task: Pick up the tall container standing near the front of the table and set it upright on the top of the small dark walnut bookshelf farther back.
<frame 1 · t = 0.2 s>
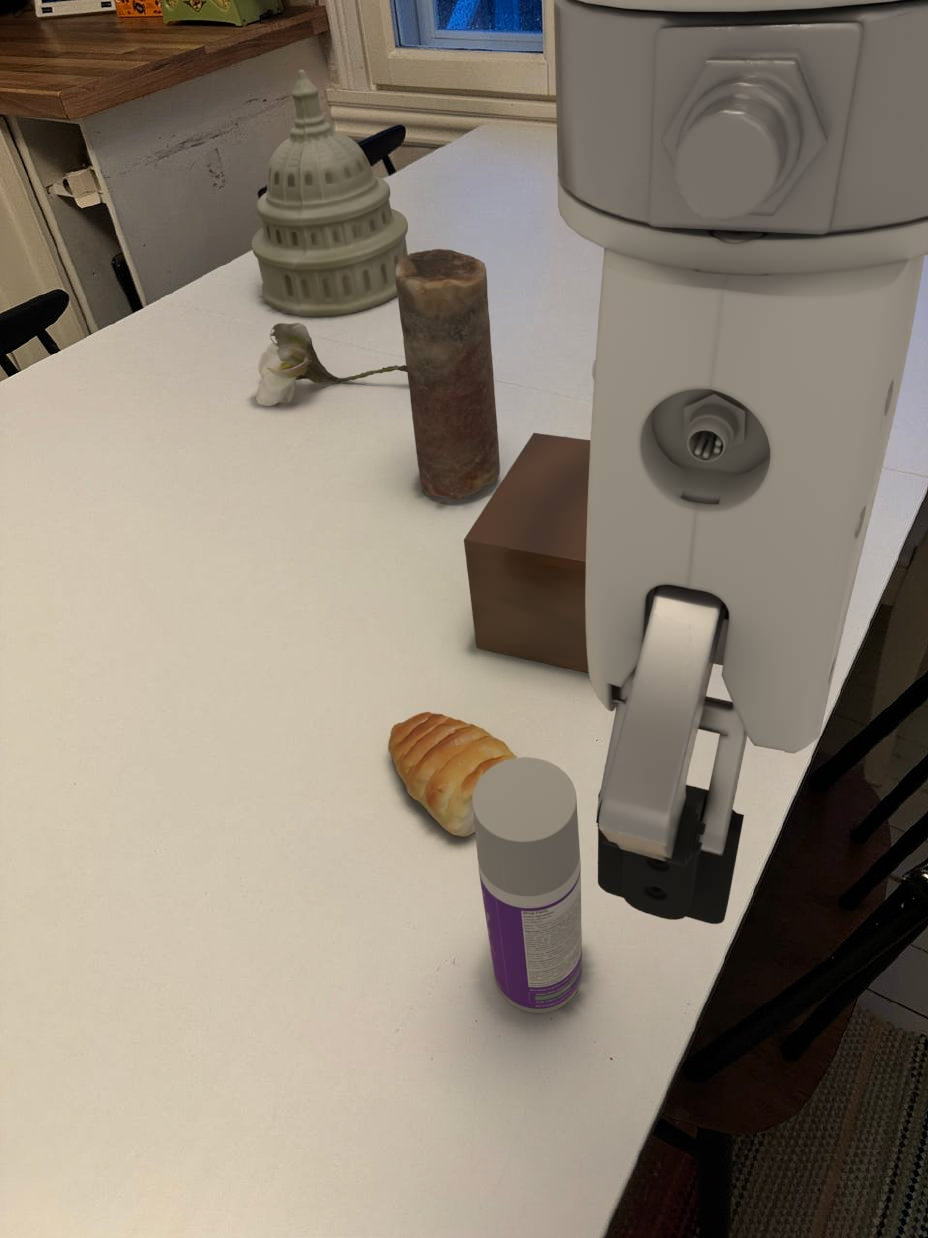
hand: (701, 757, 27), 25 cm above the table, tool pointing down, fingers open, 9 cm apart
pastry: (456, 786, 59), on the table
shelf: (576, 602, 71), on the table
brown rounded bar: (462, 483, 85), on the table
artificial flower: (355, 393, 100), on the table
dome: (339, 285, 122), on the table
container: (538, 972, 49), on the table
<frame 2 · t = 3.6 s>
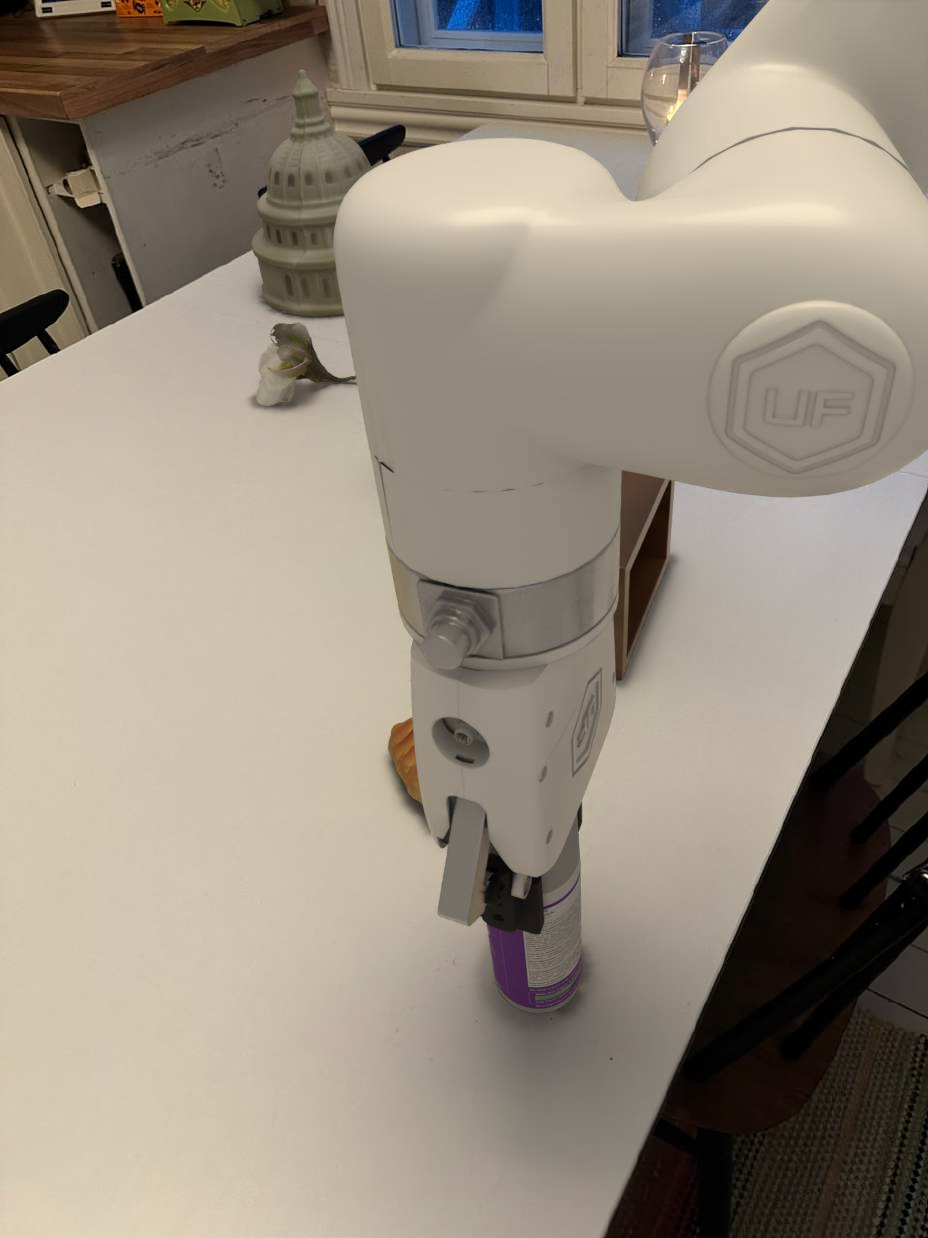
hand: (529, 866, 43), 10 cm above the table, tool pointing down, fingers closed on container, 4 cm apart
container: (537, 972, 49), on the table, touching gripper
everything else where it was.
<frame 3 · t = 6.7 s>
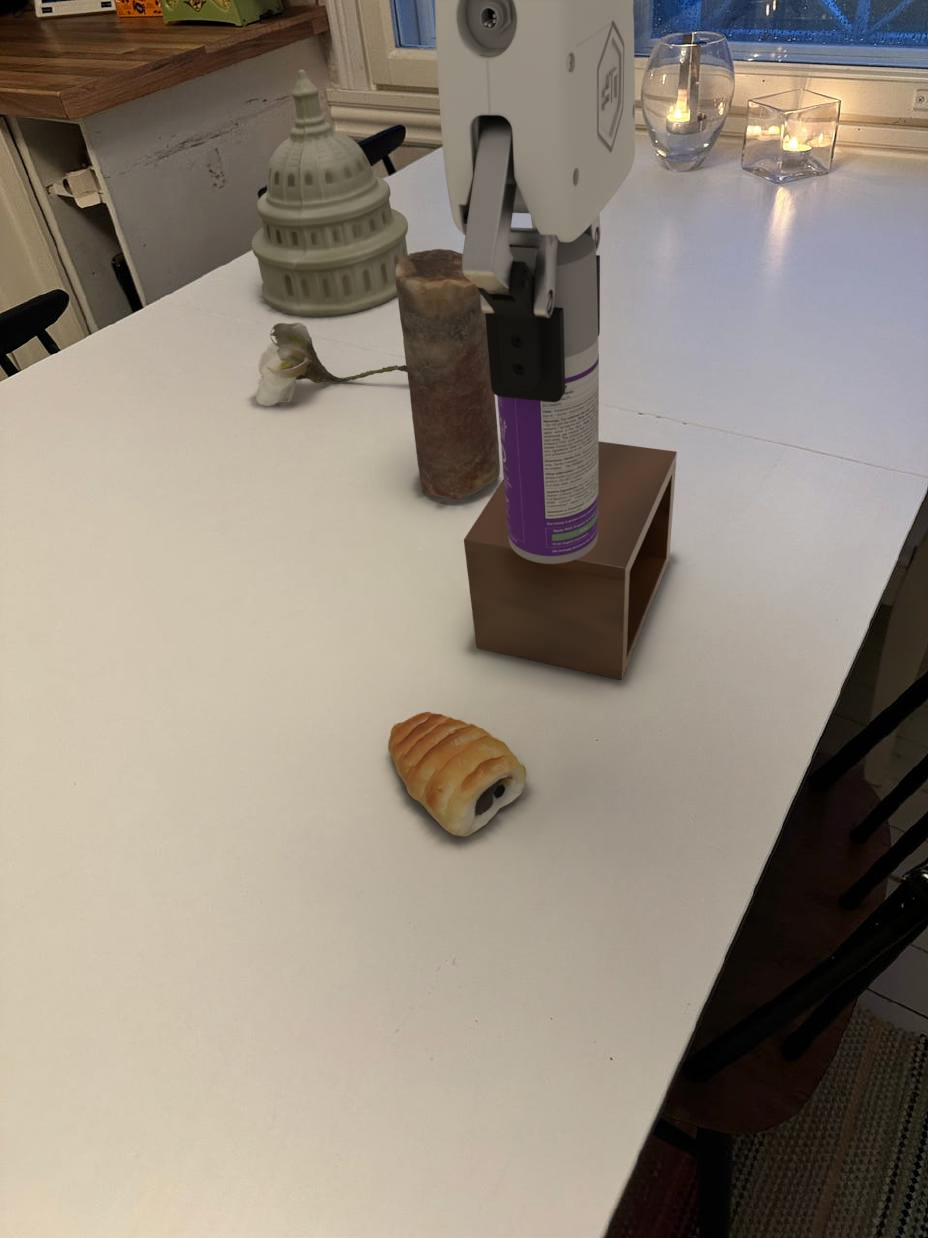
hand: (547, 362, 42), 27 cm above the table, tool pointing down, fingers closed on container, 4 cm apart
container: (553, 539, 48), point 17 cm above the table, touching gripper
everything else where it was.
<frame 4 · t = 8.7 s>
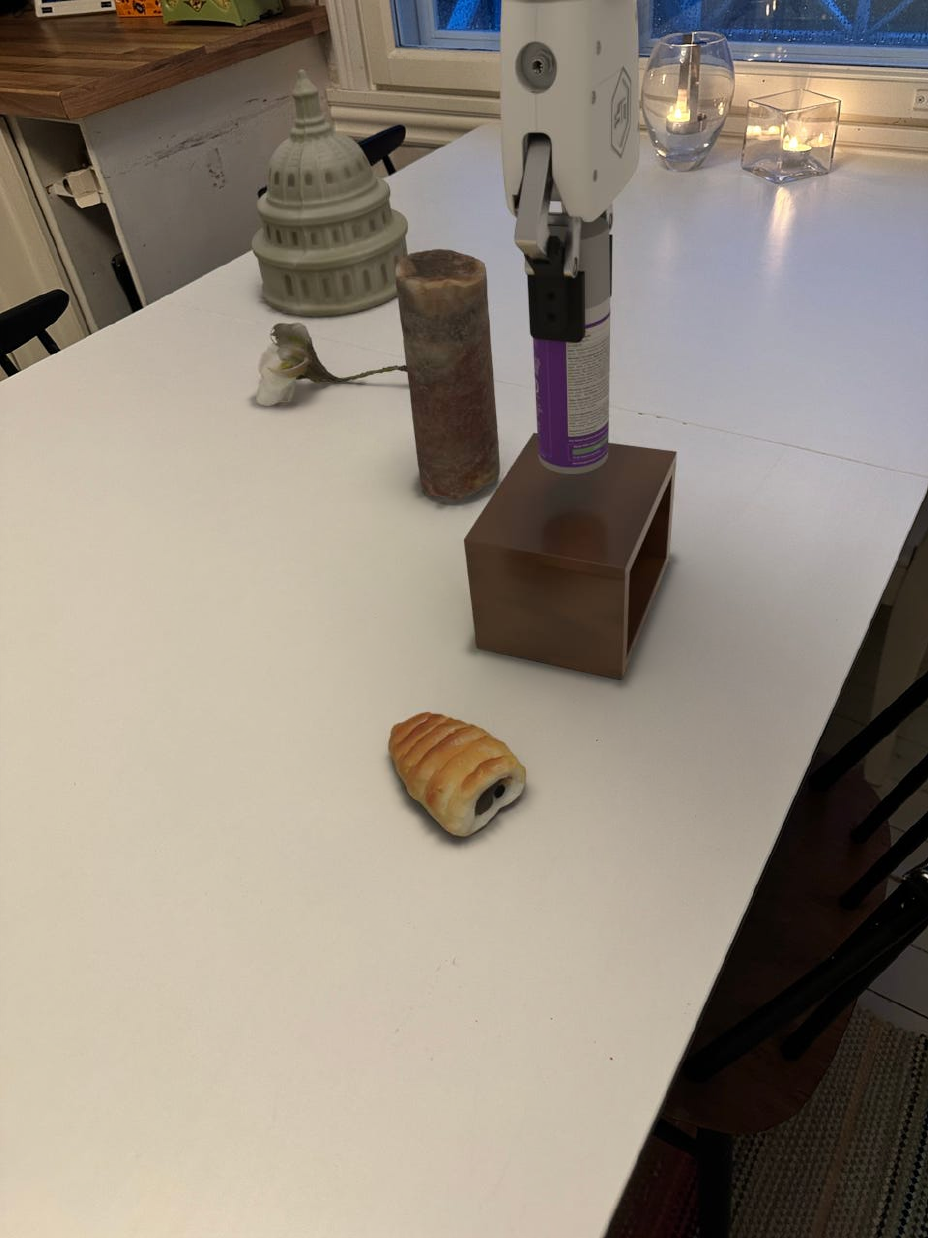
hand: (571, 315, 56), 23 cm above the table, tool pointing down, fingers closed on container, 4 cm apart
container: (573, 457, 62), point 13 cm above the table, touching gripper
everything else where it was.
when the fingers open (20 cm above the table, at t = 9.9 s): container stays where it is, resting on shelf.
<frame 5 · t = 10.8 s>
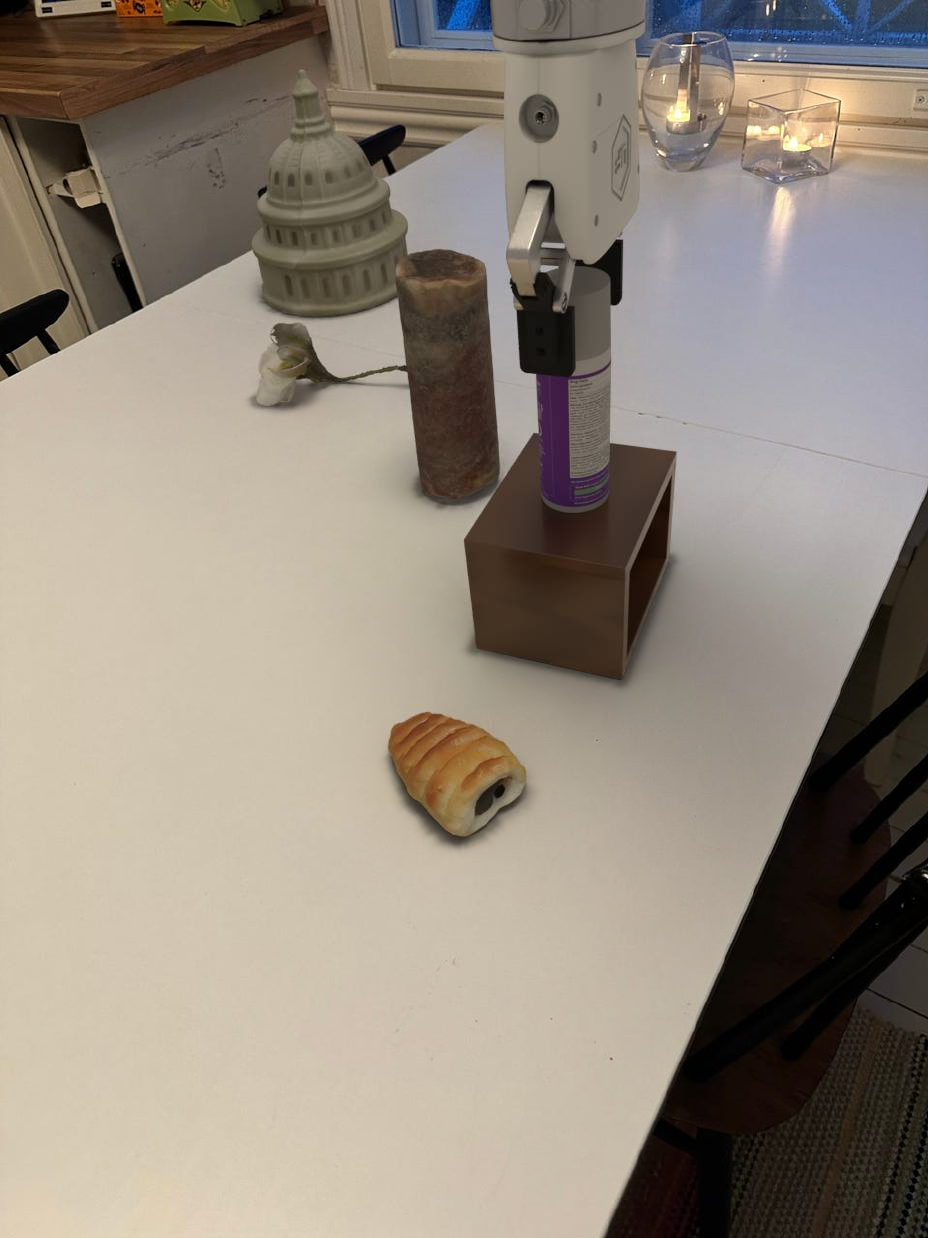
hand: (573, 335, 56), 22 cm above the table, tool pointing down, fingers open, 9 cm apart
container: (574, 496, 64), point 10 cm above the table, touching shelf
everything else where it was.
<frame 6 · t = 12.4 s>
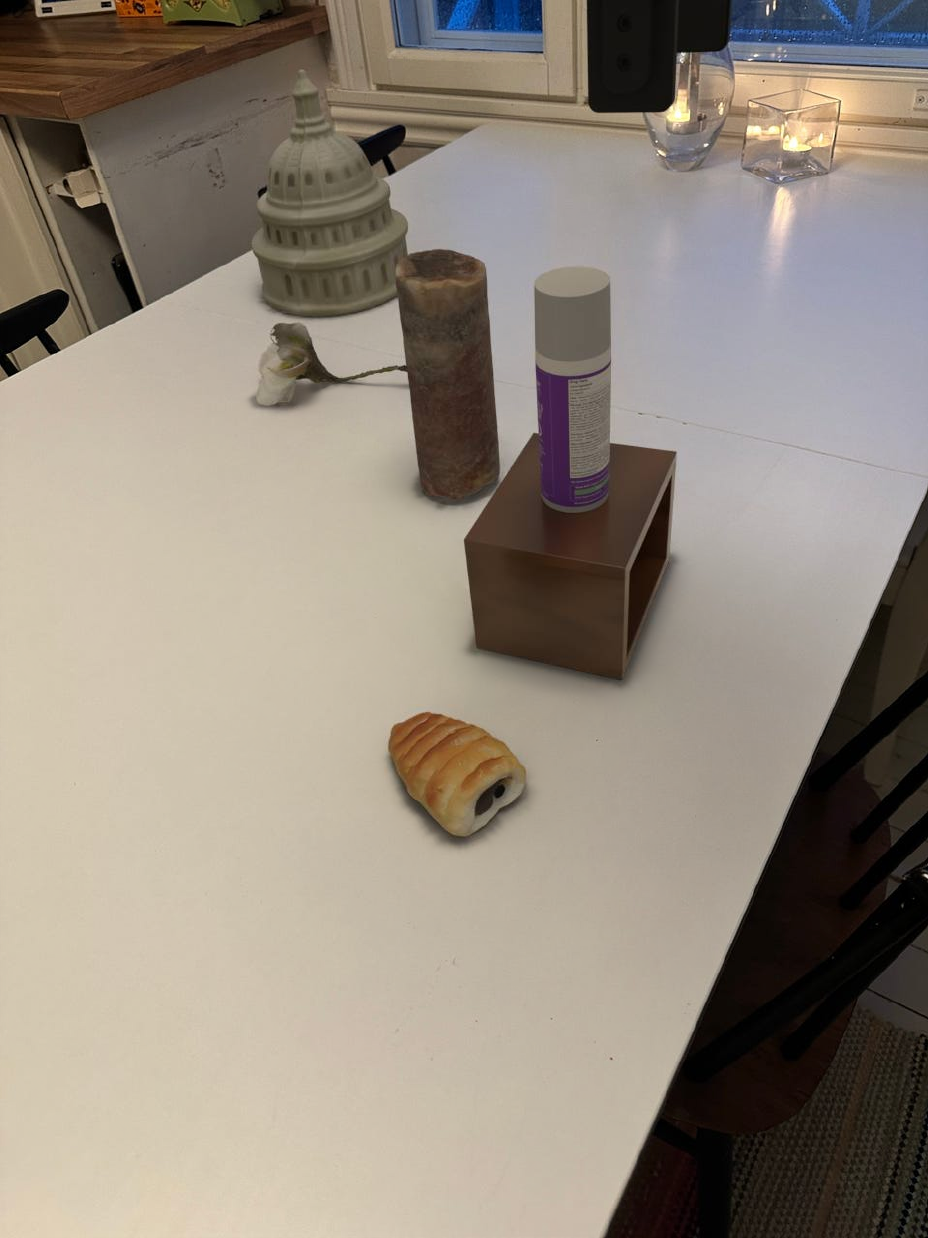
hand: (663, 77, 38), 37 cm above the table, tool pointing down, fingers open, 9 cm apart
nothing on the table moved.
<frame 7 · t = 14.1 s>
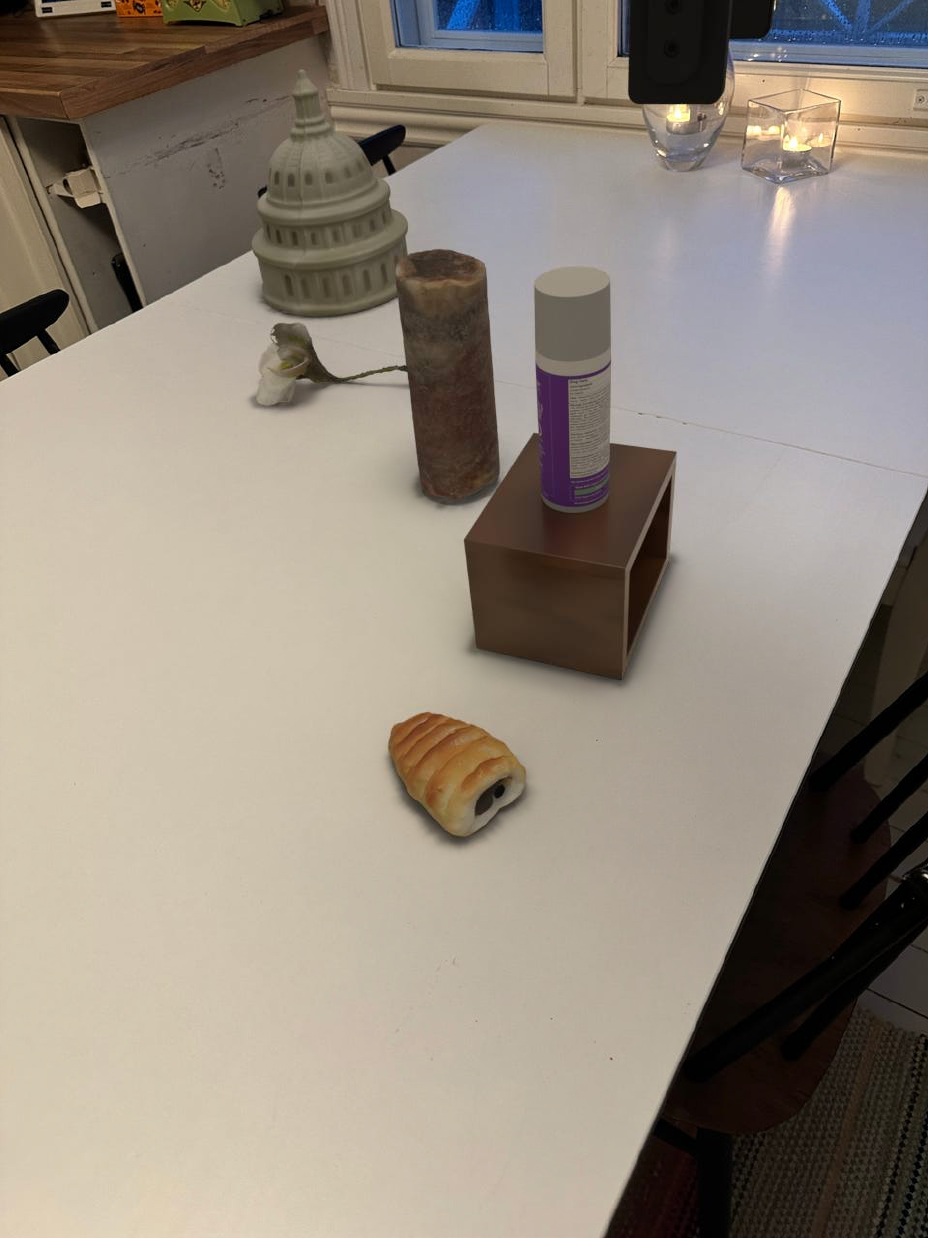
hand: (705, 66, 35), 38 cm above the table, tool pointing down, fingers open, 9 cm apart
nothing on the table moved.
at the end: container inside the target area on the shelf (0.0 cm from its centre), point 9.8 cm above the shelf's base; container tilted 0° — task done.
